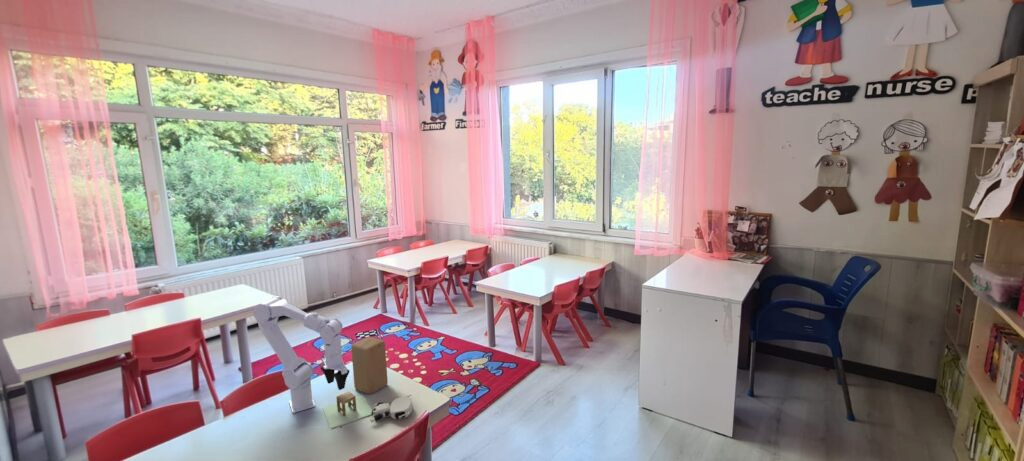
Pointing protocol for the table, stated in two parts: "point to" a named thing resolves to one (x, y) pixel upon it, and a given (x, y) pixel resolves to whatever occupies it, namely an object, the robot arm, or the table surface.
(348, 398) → the brown handled box
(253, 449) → the table surface
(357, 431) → the table surface
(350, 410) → the sage mat
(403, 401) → the robot toy
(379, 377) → the wooden block
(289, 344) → the robot arm
